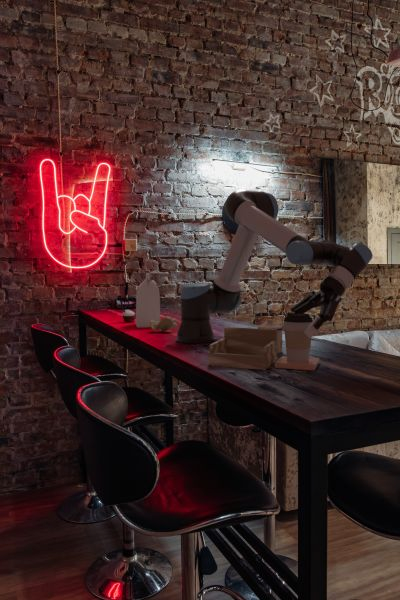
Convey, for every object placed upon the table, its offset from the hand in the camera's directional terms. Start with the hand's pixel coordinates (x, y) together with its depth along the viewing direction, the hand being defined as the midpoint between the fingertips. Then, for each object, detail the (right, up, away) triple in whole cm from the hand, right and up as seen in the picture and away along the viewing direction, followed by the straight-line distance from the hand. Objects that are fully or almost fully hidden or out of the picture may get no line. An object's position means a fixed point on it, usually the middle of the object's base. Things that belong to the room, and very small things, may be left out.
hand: (294, 332), depth 166 cm
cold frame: (-15, -10, +6) cm, 19 cm away
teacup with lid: (-5, -9, +28) cm, 29 cm away
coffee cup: (+1, -9, +1) cm, 9 cm away
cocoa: (-67, -2, +116) cm, 134 cm away
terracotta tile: (+1, -10, +1) cm, 10 cm away
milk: (-55, -3, +101) cm, 115 cm away
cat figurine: (-46, -5, +78) cm, 91 cm away
